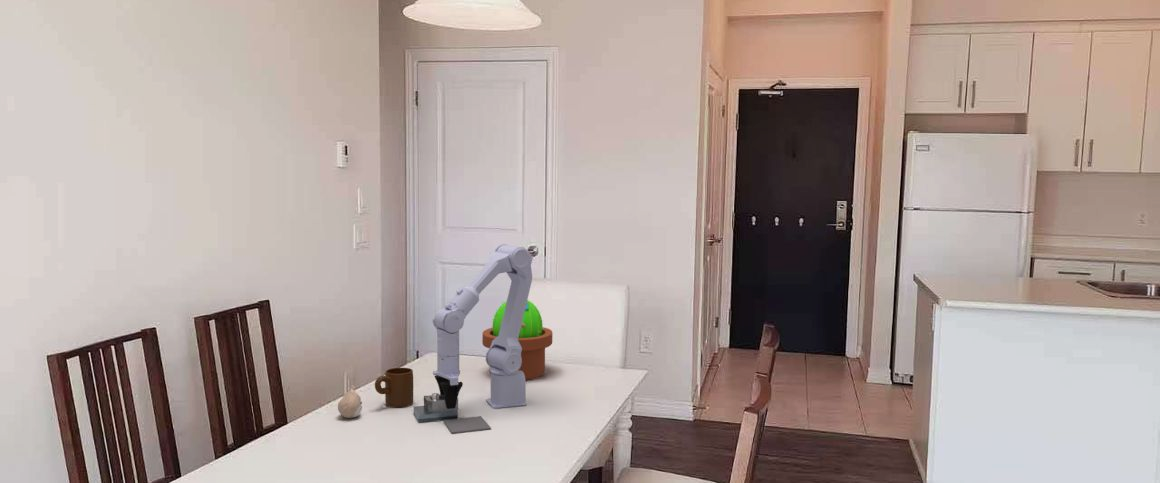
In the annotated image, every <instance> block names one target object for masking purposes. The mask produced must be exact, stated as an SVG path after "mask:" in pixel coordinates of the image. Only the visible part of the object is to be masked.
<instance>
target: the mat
mask: <svg viewBox="0 0 1160 483" xmlns="http://www.w3.org/2000/svg"><path fill="white" fill-rule="evenodd" d="M442 422H443V424H444V425H445V426H446V428H447V429H448V432H450V434H451V435H454V434H462V433H463V434H464V433H471V432H472V433H474V432H479V431H481V432H482V431H489V430H492V427H491V426H490V425H489V423H488V422H487V421H486V420H485V419H484V418H483V417H482V416H481V415H479V416H468V417H461V418H459V417H458V419H450V420H443V421H442Z"/></svg>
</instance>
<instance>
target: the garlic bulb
mask: <svg viewBox="0 0 1160 483" xmlns="http://www.w3.org/2000/svg"><path fill="white" fill-rule="evenodd" d="M356 389H357V387H356V386H355V385H353V384H351V385H350V390H348V391H347V392H346V393H345V394H344V395H343V397H342V398H341V399H340V401H339V402H338V405H337V411H338V412H339V414H340V415H341V416H342V417H343V418H345V419H353V418H356V417H358V416H359V415H360V414H361V412H362V409H363V401H362V400H361V396H360V395H359V394H358V393H357V392H356V391H355V390H356Z"/></svg>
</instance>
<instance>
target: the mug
mask: <svg viewBox="0 0 1160 483" xmlns="http://www.w3.org/2000/svg"><path fill="white" fill-rule="evenodd" d="M382 382H384V387H382V385H381V384H382ZM374 388H375V391H376V392H377V393H378V394H380V395H384V398H385V402H384V403H385V404H386V406H388V407H390V408H398V409H399V408H406V407H409V406H412V404H413V403H414V371H413V368H408V367H393V368H388V369H387V370H385V375H380V376H379V377H377V378H376V380H375V382H374Z"/></svg>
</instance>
